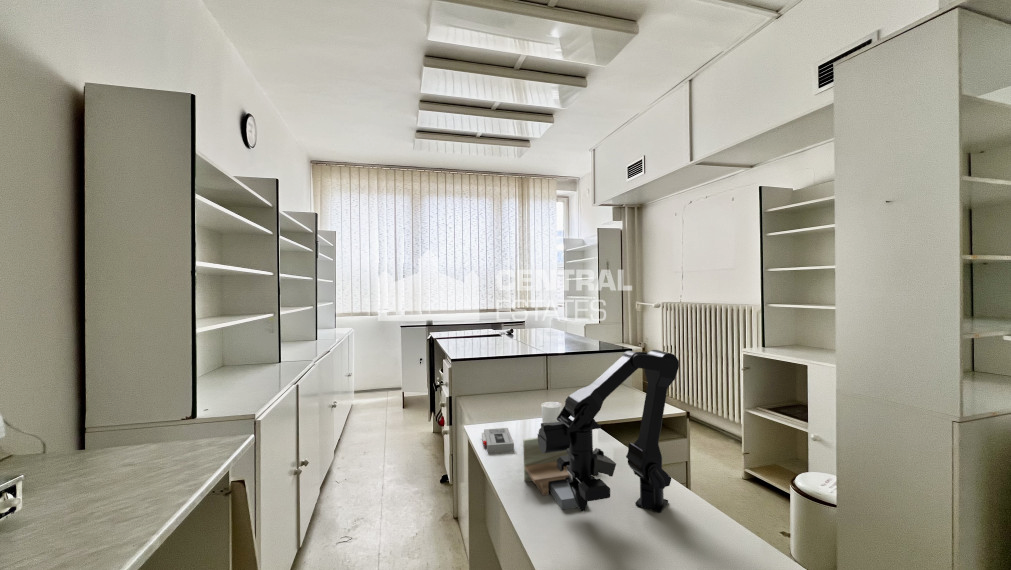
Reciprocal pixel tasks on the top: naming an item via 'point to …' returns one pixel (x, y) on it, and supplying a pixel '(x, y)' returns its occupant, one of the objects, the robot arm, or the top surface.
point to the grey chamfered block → (562, 494)
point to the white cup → (550, 411)
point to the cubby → (541, 465)
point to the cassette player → (498, 440)
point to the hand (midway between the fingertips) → (582, 510)
